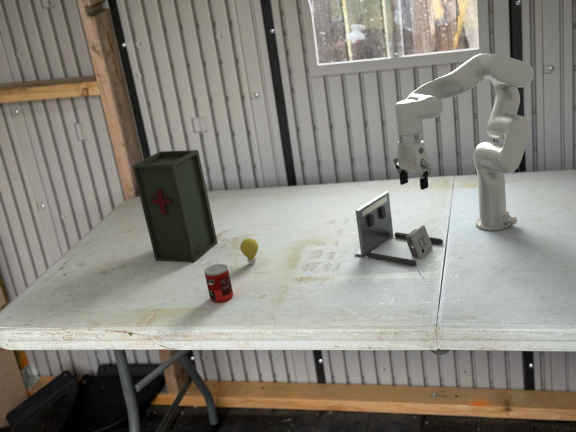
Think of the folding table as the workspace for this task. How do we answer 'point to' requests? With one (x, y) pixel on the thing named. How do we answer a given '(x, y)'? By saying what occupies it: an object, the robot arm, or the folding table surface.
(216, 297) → the canned food
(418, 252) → the electrical switch
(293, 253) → the folding table surface
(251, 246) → the light bulb
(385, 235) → the panel
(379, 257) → the cable near
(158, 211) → the first aid box
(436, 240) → the cable far
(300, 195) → the folding table surface
